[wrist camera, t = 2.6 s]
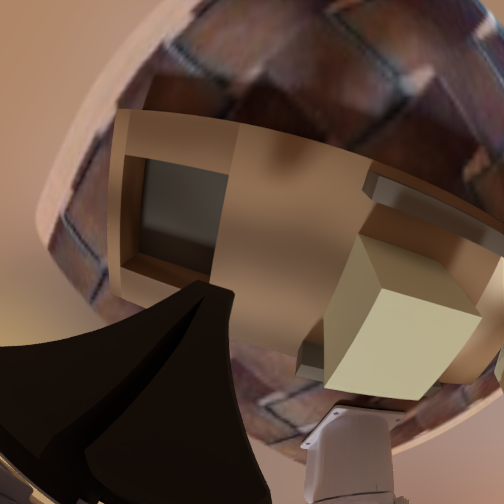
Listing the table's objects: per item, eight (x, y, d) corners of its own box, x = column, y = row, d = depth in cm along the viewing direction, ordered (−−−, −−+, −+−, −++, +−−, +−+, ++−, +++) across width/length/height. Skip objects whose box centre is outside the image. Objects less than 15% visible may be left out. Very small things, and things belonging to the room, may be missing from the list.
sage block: (399, 334, 14) (418, 400, 9) (323, 316, 14) (323, 387, 10) (439, 261, 12) (482, 317, 7) (357, 233, 12) (381, 288, 8)
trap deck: (463, 364, 17) (478, 402, 13) (129, 276, 19) (93, 308, 15) (533, 243, 12) (566, 269, 8) (141, 110, 14) (92, 108, 10)
